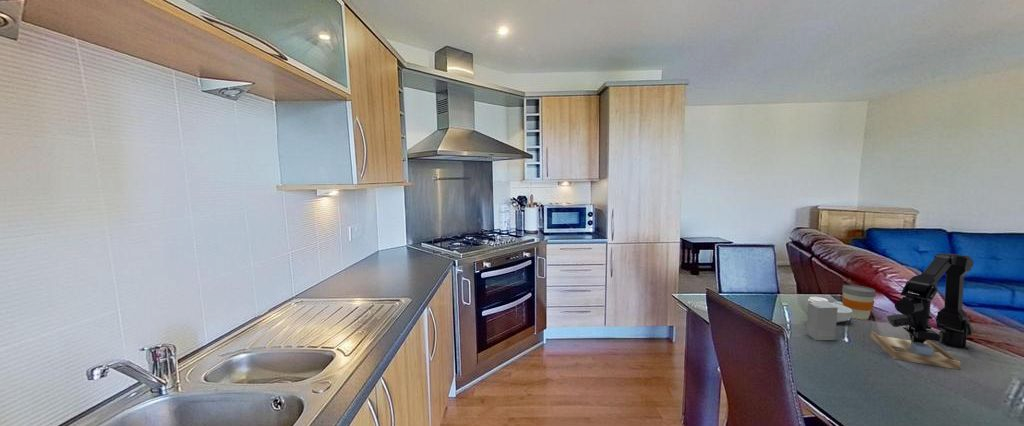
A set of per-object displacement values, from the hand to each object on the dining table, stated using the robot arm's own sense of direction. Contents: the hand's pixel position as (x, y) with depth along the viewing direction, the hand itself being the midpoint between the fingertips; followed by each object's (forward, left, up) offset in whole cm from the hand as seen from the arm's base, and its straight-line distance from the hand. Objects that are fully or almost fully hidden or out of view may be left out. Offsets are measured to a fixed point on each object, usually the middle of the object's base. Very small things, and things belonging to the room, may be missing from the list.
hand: (915, 348), depth 144 cm
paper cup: (+27, -18, -3) cm, 33 cm away
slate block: (0, +4, -1) cm, 4 cm away
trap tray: (0, -3, -3) cm, 4 cm away
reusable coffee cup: (+5, -44, -3) cm, 44 cm away
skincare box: (+29, -3, -3) cm, 29 cm away
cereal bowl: (+19, -32, -3) cm, 37 cm away
